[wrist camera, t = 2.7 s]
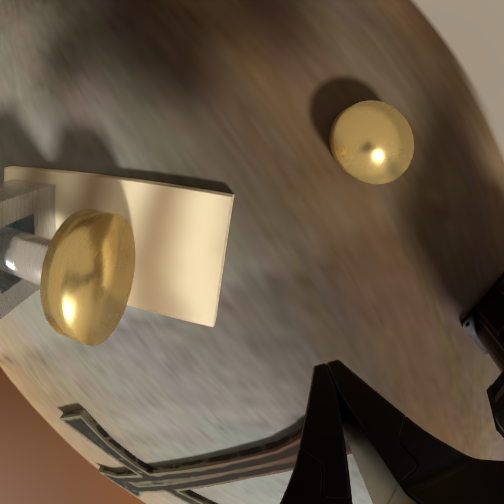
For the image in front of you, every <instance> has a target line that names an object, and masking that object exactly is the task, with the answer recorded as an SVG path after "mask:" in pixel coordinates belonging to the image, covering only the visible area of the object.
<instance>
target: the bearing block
mask: <svg viewBox="0 0 504 504" xmlns="http://www.w3.org/2000/svg"><path fill="white" fill-rule="evenodd" d="M4 226H5V227H9V228H13V229H16V230H20V231H23V232H27V233H31V234H34V235H38V236H42V237H45V238H49V239H52V238H53V236H54V234H55V233H56V218H55V184H49V183H41V182H33V181H25V180H16V179H11V180H8V181H4V182H1V183H0V228H1V227H4ZM38 289H40V285H37V284H34V283H32V282H29V281H27V280H24V279H22V278H19V277H17V276H15V275H12V274H10V273H8V272H5V271H3V270H1V269H0V319H1V318H3V317H4V316H5V315H6V314H7V313H9V312H10V311H11V310H12V309H14V308H15V307H16V306H18V305H19V304H20V303H21V302H23V301H24V300H25V299H27V298H28V297H29V296H31V295H32V294H33V293H34V292H36V291H37V290H38Z"/></svg>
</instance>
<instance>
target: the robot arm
mask: <svg viewBox="0 0 504 504" xmlns="http://www.w3.org/2000/svg"><path fill="white" fill-rule="evenodd" d="M461 325H462V327H463V328H464V329H465V330H466V332H467V333H468V334H469V335H470V336H471V338H472V339H473V340H474V341H475V342H476V344H477V345H478V346H479V347H480V349H481V350H482V351H483V352H484V354H488V353H489V355H490V356H491V358H492V359H493V360H494V362H495V363H496V365H497V366H498V368H499V369H500V371H501V372H502V373H501V374H500V375H499V377H498V378H497V379H496V380H495V382H494V383H493V384H492V385H490V387H489V388H488V389H487V394H488V398H489V402H490V406H491V410H492V414H493V418H494V422H495V426H496V430H497V431H498V432H499V433H500V434H501V435H502V436H503V438H504V274H503V275H502V276H501V278H500V279H499V280H498V281H497V282H496V284H495V285H494V286H493V287H492V288H491V289H490V291H489V292H488V293H487V294H486V295H485V296H484V297H483V299H482V300H481V301H480V302H479V303H478V304H477V305H476V306H475V307H474V308H473V309H472V311H471V312H470V313H469V314H468V315H467V316H466V317H465V318H464V319H463V320H462V322H461ZM344 434H345V437H346V439H347V441H348V444H349V446H350V449H351V451H352V453H353V456H354V458H355V461H356V463H357V465H358V468H359V470H360V473H361V475H362V477H363V480H364V482H365V485H366V487H367V490H368V492H369V494H370V497H371V499H372V502H373V504H504V461H494V460H481V459H476V458H472V457H470V456H467V455H465V454H463V453H461V452H460V451H458V450H456V449H454V448H453V447H451V446H449V445H447V444H446V443H444V442H442V441H440V440H439V439H437V438H435V437H434V436H432V435H431V434H429V433H428V432H426V431H425V430H423V429H422V428H421V427H419V426H418V425H417V424H415V423H414V422H413V421H411V420H410V419H409V418H408V417H405V415H404V414H403V413H402V412H400V411H399V410H398V409H397V408H395V407H394V406H393V405H392V404H391V403H389V402H388V401H387V400H386V399H385V398H383V397H382V396H381V395H380V394H379V393H377V392H376V391H375V390H374V389H373V388H371V387H370V386H369V385H368V384H367V383H365V382H364V381H363V380H362V379H361V378H359V377H358V376H357V375H356V374H355V373H354V372H352V371H351V370H350V369H349V368H348V367H346V366H345V365H344V364H343V363H342V362H341V361H339V360H334V361H331V362H328V363H327V364H325V363H324V364H320V365H316V366H314V368H313V374H312V380H311V386H310V392H309V398H308V404H307V409H306V414H305V420H304V425H303V430H302V435H301V440H300V445H299V450H298V453H297V458H296V462H295V465H294V469H293V473H292V475H291V478H290V481H289V484H288V486H287V489H286V491H285V493H284V496H283V498H282V500H281V502H280V504H352V495H351V486H350V477H349V469H348V461H347V454H346V446H345V439H344Z"/></svg>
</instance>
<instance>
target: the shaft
mask: <svg viewBox="0 0 504 504" xmlns="http://www.w3.org/2000/svg"><path fill="white" fill-rule="evenodd" d="M0 269H1V270H3V271H5V272H8V273H10V274H12V275H15V276H17V277H19V278H22V279H24V280H27V281H29V282H32V283H34V284H37V285H40V294H41V302H42V307H43V311H44V314H45V316H46V319H47V321H48V322H49V324H50V326H51V327H52V328H53V329H54V330H55V331H56V332H58V333H60V334H62V335H64V336H66V337H69V338H71V339H74V340H76V341H79V342H81V343H84V344H86V345H90V346H94V345H98V344H100V343H102V342H104V341H105V340H106V339H107V338H108V337H109V336H110V335H111V334H112V332H113V331H114V330H115V328H116V326H117V325H118V323H119V321H120V319H121V317H122V315H123V313H124V310H125V308H126V305H127V302H128V299H129V295H130V292H131V288H132V283H133V278H134V271H135V240H134V235H133V231H132V228H131V226H130V224H129V222H128V221H127V219H126V218H125V217H123V216H122V215H120V214H115V213H110V212H104V211H99V210H93V209H82V210H79V211H77V212H75V213H73V214H72V215H70V216H69V217H68V218H67V219H66V220H65V221H64V222H63V223H62V224H61V226H60V227H59V228H58V230H57V231H56V233H55V234H54V236H53V238H52V239H49V238H45V237H42V236H38V235H34V234H31V233H27V232H23V231H20V230H16V229H13V228H9V227H5V226H4V227H1V228H0Z"/></svg>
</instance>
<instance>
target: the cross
mask: <svg viewBox="0 0 504 504" xmlns="http://www.w3.org/2000/svg"><path fill="white" fill-rule="evenodd" d="M60 419H61V420H62V421H63V422H64V423H66V424H67V425H68V426H69V427H71V428H72V429H73V430H75V431H76V432H77V433H79V434H80V435H81V436H83V437H84V438H86V439H87V440H88V441H90V442H91V443H93V444H94V445H95V446H97V447H98V448H100V449H101V450H103V451H104V452H105V453H107V454H108V455H109V456H111V457H112V458H113V459H115V460H116V461H118V462H119V463H121V464H122V465H124V466H125V467H127V468H128V469H130V470H126V471H117V470H113V469H109V468H105V467H100V469H99V470H98V472H100V473H101V474H102V475H104V476H106V477H107V478H108V479H110V480H111V481H113V482H114V483H116V484H117V485H119V486H120V487H122V488H124V489H125V490H127V491H128V492H130V493H132V494H133V495H135V496H137V497H138V498H140V496H141V495H142V493H156V492H167V493H169V494H171V495H173V496H174V497H176V498H178V499H180V500H182V501H184V502H186V503H188V504H218V503H215V502H213V501H211V500H209V499H207V498H205V497H203V496H201V495H199V494H197V493H195V492H193V491H191V490H190V489H197V488H203V487H209V486H214V485H220V484H225V483H230V482H235V481H240V480H244V479H249V478H254V477H260V476H266V475H271V474H276V473H282V472H286V471H291V470H293V469H294V465H295V462H296V458H297V453H298V450H299V445H300V440H301V435H302V430H303V427H302V428H301V429H299V430H297V431H296V432H294V433H292V434H290V435H288V436H286V437H284V438H282V439H280V440H278V441H276V442H273V443H270V444H266V445H262V446H259V447H255V448H251V449H247V450H243V451H239V452H235V453H231V454H227V455H223V456H218V457H213V458H209V459H204V460H198V461H193V462H187V463H181V464H174V465H167V466H159V467H151V466H149V465H147V464H146V463H144V462H142V461H141V460H139V459H138V458H136V457H135V456H134V455H133V454H131V453H130V452H129V451H127V450H126V449H125V448H124V447H122V446H121V445H120V444H119V443H117V442H116V441H115V440H114V439H113V438H111V437H110V436H109V434H108V433H107V432H106V431H105V430H104V429H103V428H102V427H101V426H100V425H99V424H98V423H97V422H96V421H95V419H94V418H93V417H92V416H91V415H90V414H89V413H88V412H87V410H86V409H81V410H76V411H71V412H66V413H63V414H62V416H61V417H60ZM344 439H345V446H346V454H347V455H348V454H352V451H351V449H350V446H349V444H348V441H347V439H346V437H345V434H344Z"/></svg>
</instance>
